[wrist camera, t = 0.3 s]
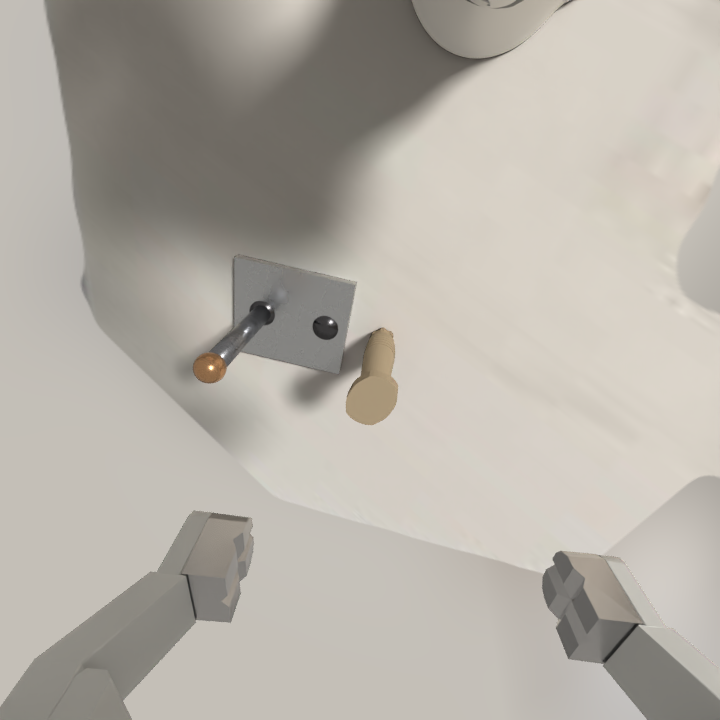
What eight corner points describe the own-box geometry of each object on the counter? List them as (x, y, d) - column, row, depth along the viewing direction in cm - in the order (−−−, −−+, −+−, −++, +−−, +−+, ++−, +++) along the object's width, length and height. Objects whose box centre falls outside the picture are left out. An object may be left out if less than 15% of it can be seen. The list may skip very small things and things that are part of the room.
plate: (238, 254, 46) (234, 257, 45) (356, 282, 46) (355, 285, 45) (237, 345, 54) (234, 349, 53) (340, 370, 53) (338, 374, 52)
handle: (357, 346, 51) (337, 411, 38) (378, 310, 48) (364, 368, 35) (386, 361, 52) (376, 431, 39) (409, 327, 48) (407, 390, 36)
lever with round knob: (251, 299, 48) (185, 359, 34) (274, 305, 48) (217, 366, 34) (250, 320, 50) (187, 385, 36) (272, 326, 50) (217, 392, 36)
